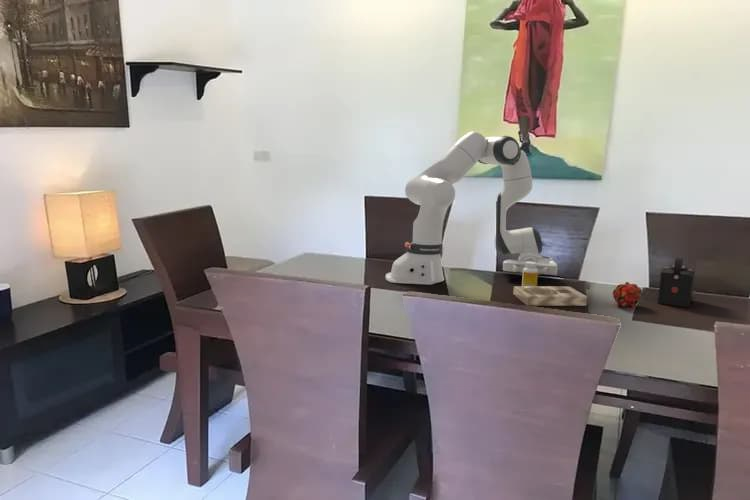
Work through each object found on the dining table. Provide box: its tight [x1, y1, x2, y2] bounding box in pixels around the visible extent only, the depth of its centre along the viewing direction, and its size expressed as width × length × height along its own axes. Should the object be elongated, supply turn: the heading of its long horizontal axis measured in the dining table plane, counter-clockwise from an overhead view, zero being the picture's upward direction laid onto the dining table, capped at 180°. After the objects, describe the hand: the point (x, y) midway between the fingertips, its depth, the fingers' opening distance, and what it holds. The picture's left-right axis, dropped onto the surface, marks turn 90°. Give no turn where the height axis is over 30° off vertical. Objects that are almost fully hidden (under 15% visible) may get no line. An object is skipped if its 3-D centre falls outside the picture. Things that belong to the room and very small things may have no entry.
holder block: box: [512, 285, 588, 307], centre depth 191 cm, size 20×14×3 cm
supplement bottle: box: [521, 262, 539, 286], centre depth 206 cm, size 5×5×10 cm
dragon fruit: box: [612, 281, 643, 308], centre depth 185 cm, size 8×8×12 cm
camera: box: [657, 257, 696, 308], centre depth 192 cm, size 11×14×15 cm
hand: (529, 271), depth 211 cm, fingers open, 8 cm apart
